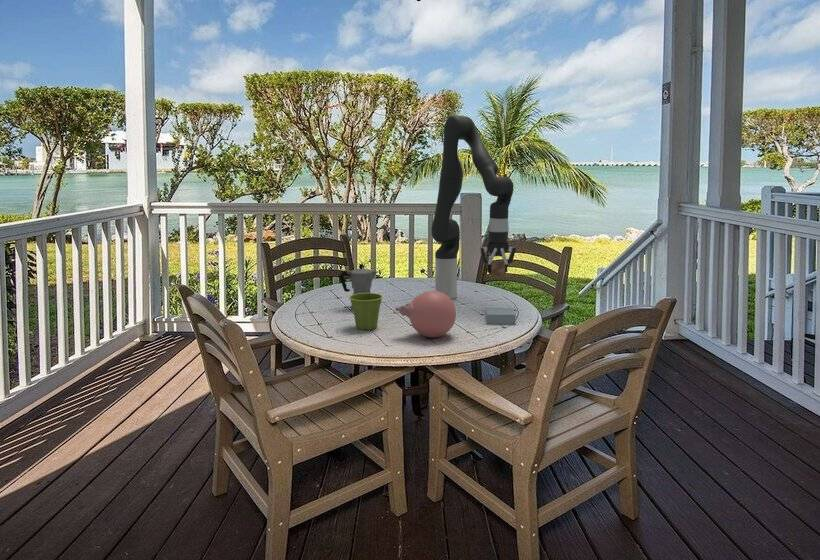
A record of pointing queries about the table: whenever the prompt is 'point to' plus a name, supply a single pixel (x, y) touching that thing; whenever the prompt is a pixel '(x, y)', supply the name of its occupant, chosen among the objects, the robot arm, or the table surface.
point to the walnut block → (497, 268)
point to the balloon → (430, 313)
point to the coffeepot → (358, 280)
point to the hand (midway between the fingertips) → (496, 273)
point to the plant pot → (366, 309)
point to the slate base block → (500, 316)
